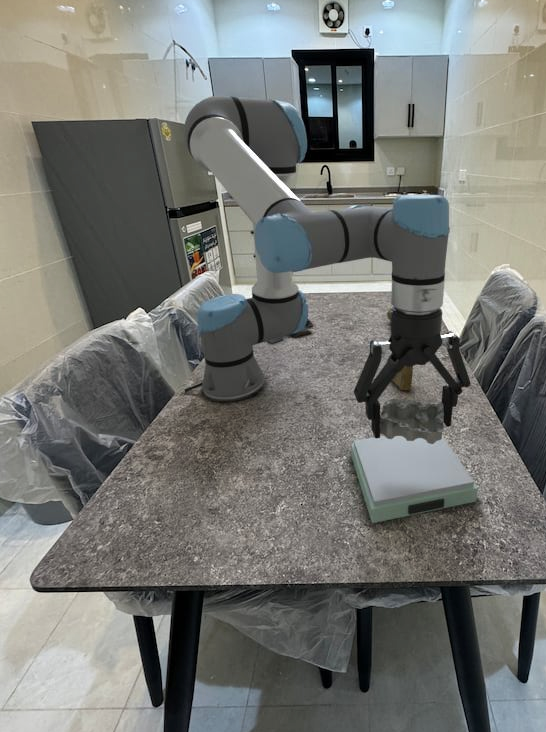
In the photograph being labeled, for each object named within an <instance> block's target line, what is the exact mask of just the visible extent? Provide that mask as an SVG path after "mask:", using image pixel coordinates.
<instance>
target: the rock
mask: <svg viewBox="0 0 546 732" xmlns="http://www.w3.org/2000/svg"><path fill="white" fill-rule="evenodd" d="M397 361H398V359H397ZM413 369H414V366H411V367H407V366H404V368H403V369H402V370H401V372H398V373H397V374H396V375H395V377H394V378H393V379H392V381H391V382H393V383H394V384H395V385H396V386H397V387H398V388H399V390H401V391H410V390H411V387H412V383H413V374H414V370H413Z"/></svg>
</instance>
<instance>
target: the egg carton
mask: <svg viewBox="0 0 546 732" xmlns="http://www.w3.org/2000/svg"><path fill="white" fill-rule="evenodd" d="M443 421H444V408H443V403H441V402H439V403H431V404H430V403H428V402H425V403H423V402H422V401H421V400H420V401H411V400H407V401H406V400H403V399H400V398H389V400H386V401H384V402H383V405H382V408H381V411H380V435H382V436H385V437H386V438H387V439H393V438H394V437H395V436H402V437H404V438H405V439H406V440H407V441H414V440H415V439H417V438H422V439H425V440H426V441H427V443H429V444H434V443H435V442H436V441H438V440H441V439H442V435H443V433H444V430H445V429H444V426H445V424H444V422H443Z"/></svg>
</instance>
